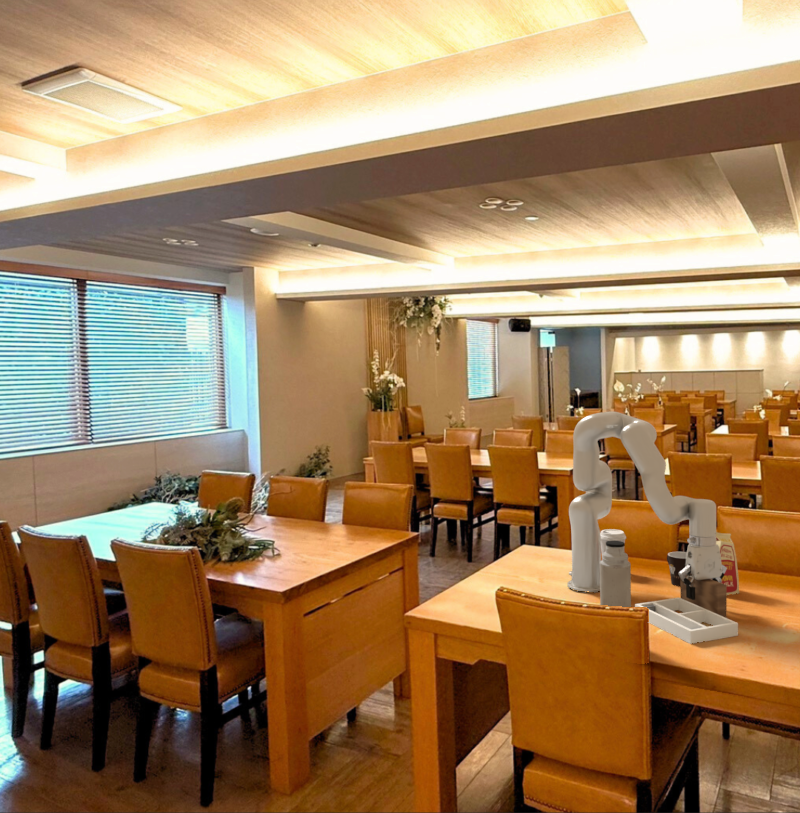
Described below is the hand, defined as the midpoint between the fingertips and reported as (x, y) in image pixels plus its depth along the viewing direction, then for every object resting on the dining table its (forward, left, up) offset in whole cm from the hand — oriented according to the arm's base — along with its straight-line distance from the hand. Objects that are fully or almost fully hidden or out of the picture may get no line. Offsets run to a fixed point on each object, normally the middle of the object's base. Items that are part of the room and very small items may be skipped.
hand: (703, 596), depth 223 cm
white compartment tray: (+8, -14, -4) cm, 16 cm away
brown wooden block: (0, 0, -4) cm, 4 cm away
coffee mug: (-25, +12, -5) cm, 28 cm away
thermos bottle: (+12, -40, -5) cm, 41 cm away
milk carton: (-13, +18, -5) cm, 23 cm away
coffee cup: (-44, -2, -5) cm, 44 cm away
